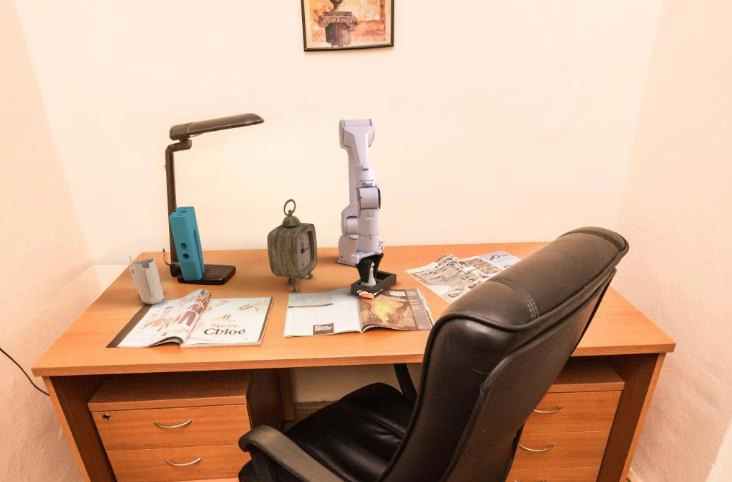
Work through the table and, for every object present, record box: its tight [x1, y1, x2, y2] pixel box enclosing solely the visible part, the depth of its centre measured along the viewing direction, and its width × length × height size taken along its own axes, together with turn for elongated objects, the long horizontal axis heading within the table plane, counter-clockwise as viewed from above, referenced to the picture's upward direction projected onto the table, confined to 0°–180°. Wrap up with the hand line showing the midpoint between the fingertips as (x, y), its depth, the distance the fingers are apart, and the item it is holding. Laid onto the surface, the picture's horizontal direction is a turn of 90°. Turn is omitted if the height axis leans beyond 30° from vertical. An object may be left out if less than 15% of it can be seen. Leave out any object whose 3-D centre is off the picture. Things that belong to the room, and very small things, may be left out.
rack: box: [350, 269, 398, 299], centre depth 142 cm, size 14×7×3 cm, turn 148°
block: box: [168, 205, 205, 281], centre depth 148 cm, size 12×5×20 cm, turn 6°
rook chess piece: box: [361, 260, 376, 288], centre depth 137 cm, size 4×4×8 cm
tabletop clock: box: [266, 198, 318, 293], centre depth 140 cm, size 14×9×25 cm, turn 161°
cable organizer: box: [128, 252, 165, 305], centre depth 135 cm, size 7×12×12 cm, turn 29°
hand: (368, 279), depth 138 cm, fingers closed on rook chess piece, 3 cm apart
